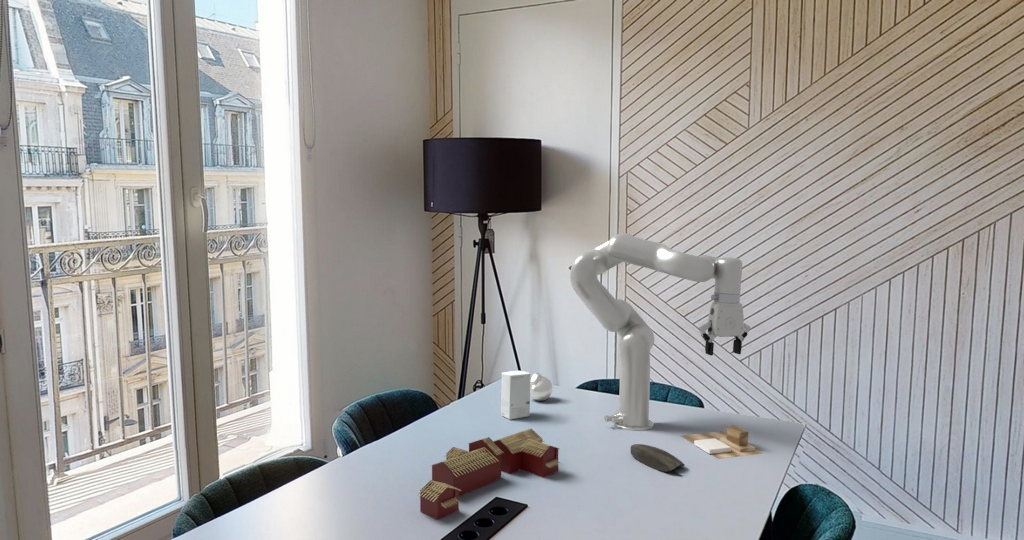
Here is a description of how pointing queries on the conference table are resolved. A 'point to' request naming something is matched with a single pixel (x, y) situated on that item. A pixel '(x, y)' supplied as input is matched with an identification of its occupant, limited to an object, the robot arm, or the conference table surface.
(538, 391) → the ghost figurine
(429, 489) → the toy houses
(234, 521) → the conference table surface
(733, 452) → the cork mat
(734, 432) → the wooden float
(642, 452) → the decorative stone
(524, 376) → the skincare box
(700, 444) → the tile
